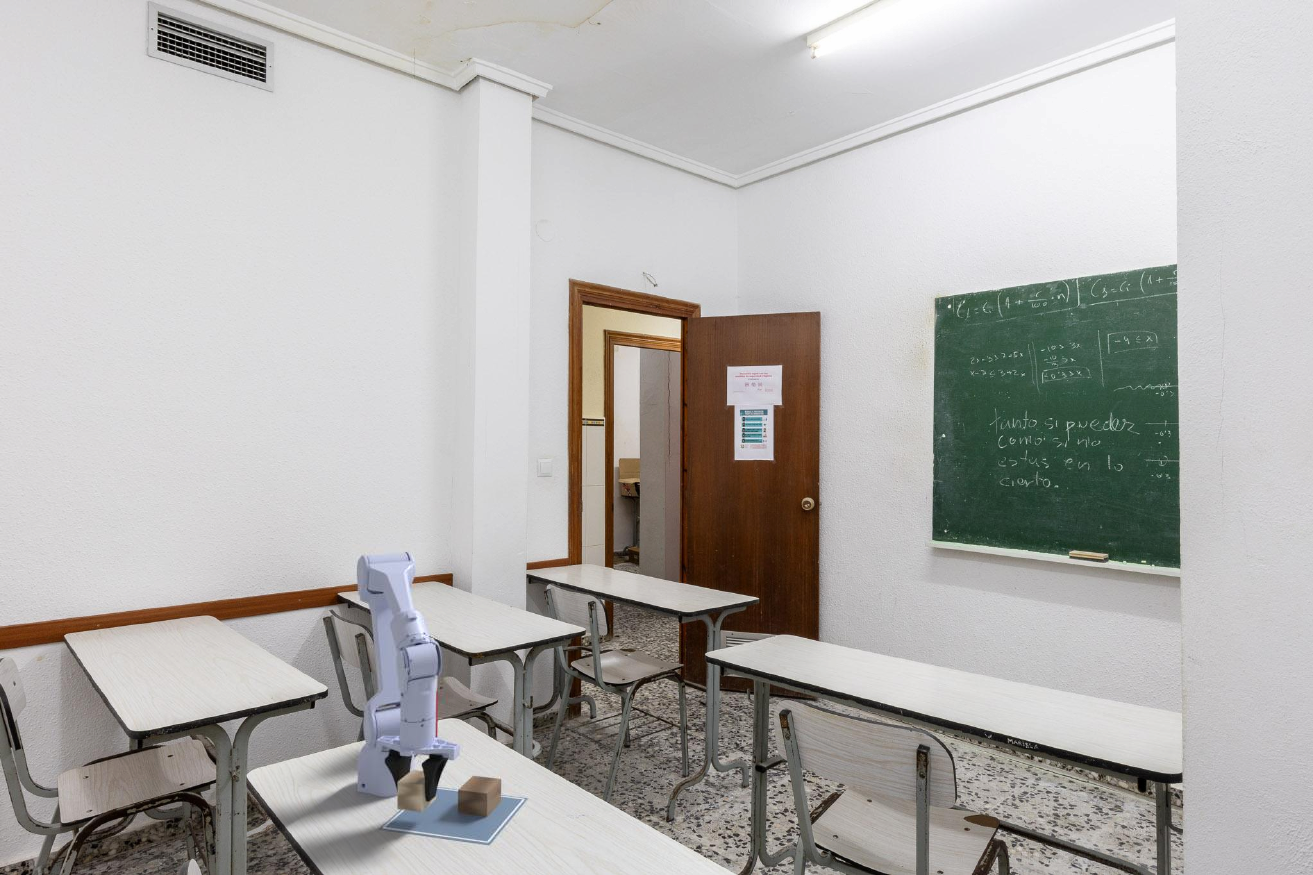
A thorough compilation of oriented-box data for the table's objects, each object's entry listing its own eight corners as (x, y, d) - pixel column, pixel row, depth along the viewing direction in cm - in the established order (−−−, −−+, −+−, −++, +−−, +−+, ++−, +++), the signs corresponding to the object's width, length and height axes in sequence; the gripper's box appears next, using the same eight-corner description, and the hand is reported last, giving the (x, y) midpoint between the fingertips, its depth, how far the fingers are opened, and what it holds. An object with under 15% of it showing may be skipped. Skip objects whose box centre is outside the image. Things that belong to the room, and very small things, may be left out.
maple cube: (397, 808, 118) (397, 781, 118) (412, 795, 123) (412, 769, 123) (421, 812, 117) (422, 784, 117) (436, 798, 122) (436, 772, 122)
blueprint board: (378, 833, 117) (378, 828, 117) (428, 790, 133) (428, 785, 133) (489, 849, 113) (489, 844, 113) (528, 802, 128) (528, 797, 128)
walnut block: (457, 813, 123) (458, 789, 123) (472, 797, 128) (473, 775, 128) (487, 816, 121) (487, 793, 122) (501, 801, 127) (501, 778, 127)
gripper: (365, 720, 118) (364, 803, 118) (445, 729, 114) (443, 814, 114) (390, 705, 125) (389, 783, 124) (466, 713, 121) (465, 793, 121)
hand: (417, 796), depth 120 cm, fingers closed on maple cube, 4 cm apart
